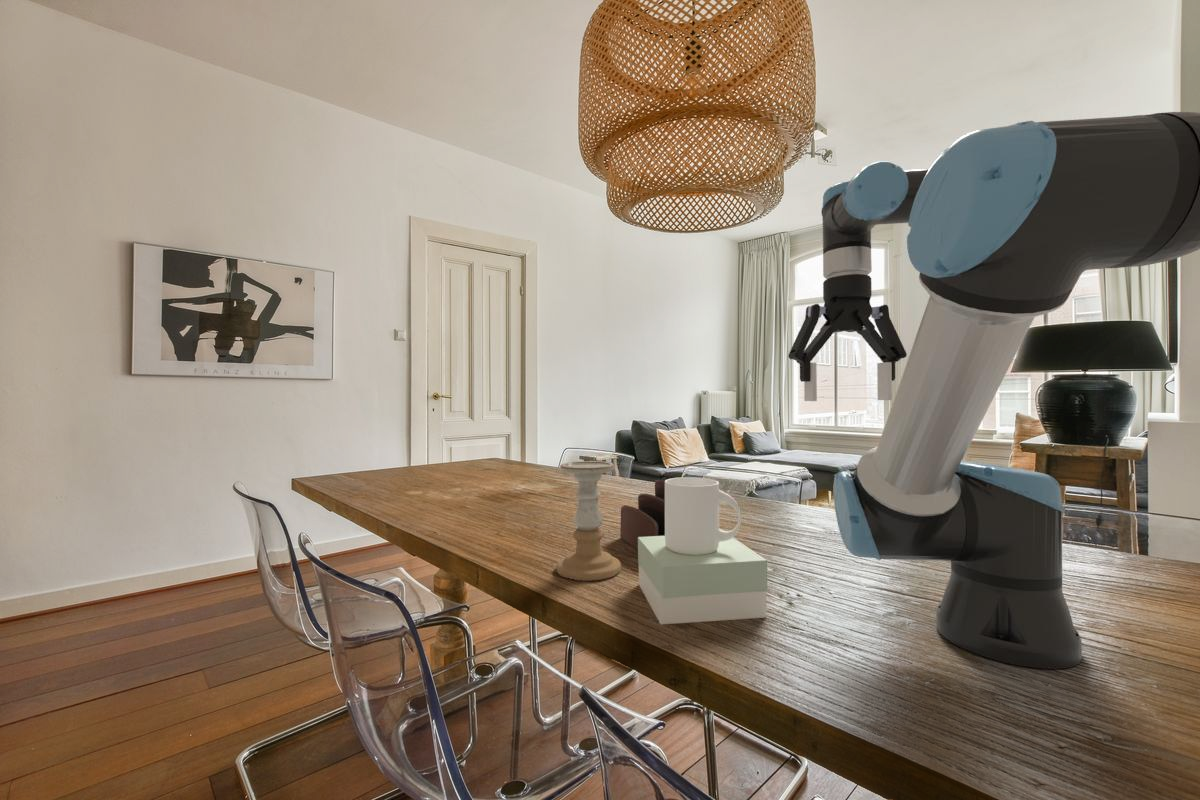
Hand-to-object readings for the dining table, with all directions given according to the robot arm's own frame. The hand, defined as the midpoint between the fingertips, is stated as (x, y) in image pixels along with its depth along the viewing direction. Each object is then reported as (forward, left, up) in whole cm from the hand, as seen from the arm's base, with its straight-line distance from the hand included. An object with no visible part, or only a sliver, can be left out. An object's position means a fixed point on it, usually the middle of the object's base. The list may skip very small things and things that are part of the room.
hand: (847, 400), depth 90 cm
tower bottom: (-3, +28, -32) cm, 43 cm away
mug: (-4, +27, -24) cm, 36 cm away
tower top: (-3, +28, -28) cm, 39 cm away
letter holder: (+26, +28, -32) cm, 50 cm away
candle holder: (+14, +44, -32) cm, 56 cm away
